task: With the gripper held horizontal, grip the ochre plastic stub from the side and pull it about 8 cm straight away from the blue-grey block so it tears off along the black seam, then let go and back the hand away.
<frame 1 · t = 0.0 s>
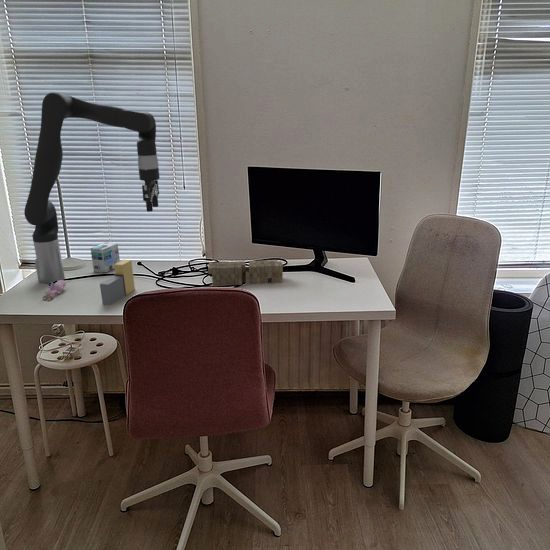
hand: (152, 209, 194), 29 cm above the table, tool pointing down, fingers open, 8 cm apart
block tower: (246, 282, 199), on the table
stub: (124, 277, 188), point 6 cm above the table, slide at 0.0 cm
rabbit figure: (56, 294, 190), on the table
blue-grey block: (126, 292, 190), on the table
light bulb box: (107, 269, 218), on the table
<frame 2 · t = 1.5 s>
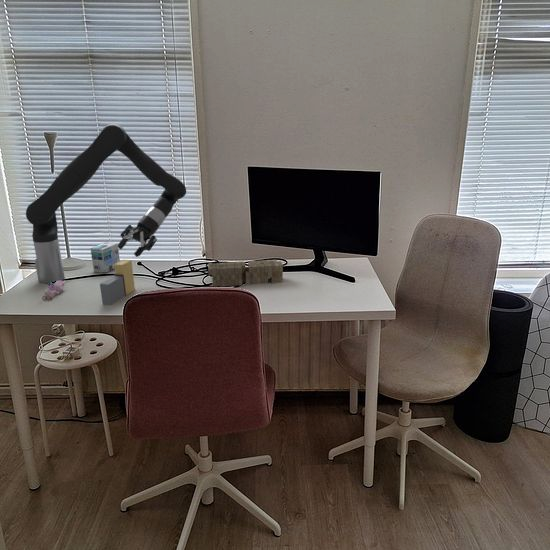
hand: (127, 251, 192), 14 cm above the table, tool tilted 55°, fingers open, 8 cm apart
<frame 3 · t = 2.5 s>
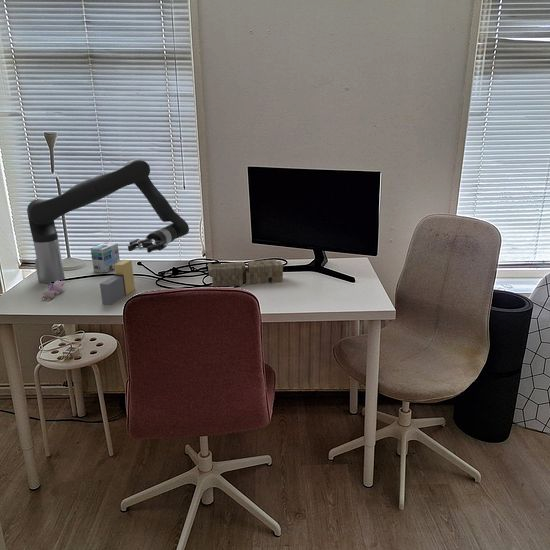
hand: (138, 249, 195), 14 cm above the table, tool horizontal, fingers open, 8 cm apart
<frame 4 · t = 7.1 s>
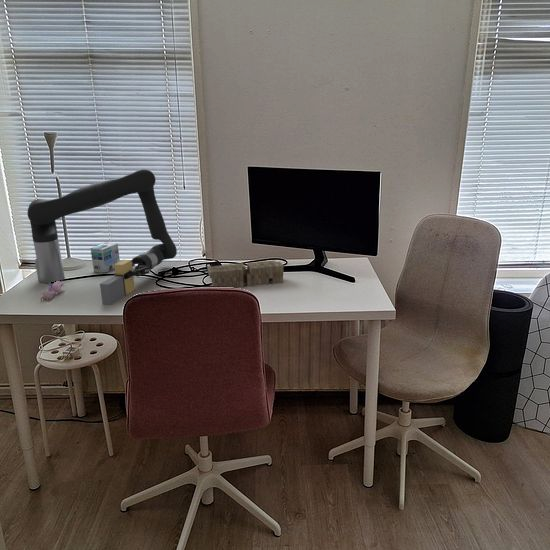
hand: (120, 276, 185), 8 cm above the table, tool horizontal, fingers closed on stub, 3 cm apart
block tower: (246, 284, 197), on the table
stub: (124, 277, 188), point 6 cm above the table, slide at 0.0 cm, touching gripper
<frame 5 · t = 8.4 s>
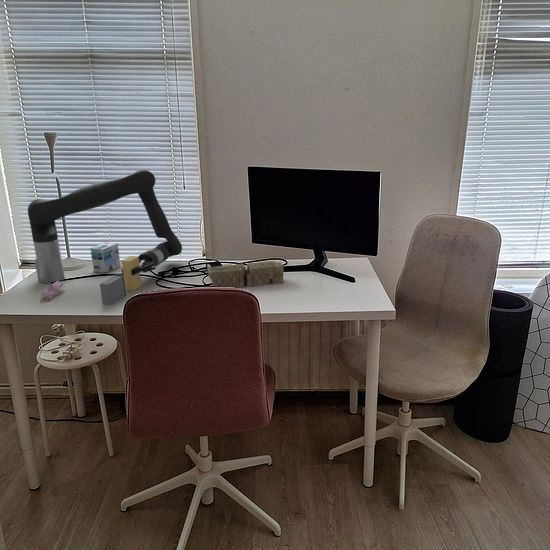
hand: (127, 272, 189), 8 cm above the table, tool horizontal, fingers closed on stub, 3 cm apart
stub: (131, 273, 192), point 6 cm above the table, slide at 4.8 cm, touching gripper
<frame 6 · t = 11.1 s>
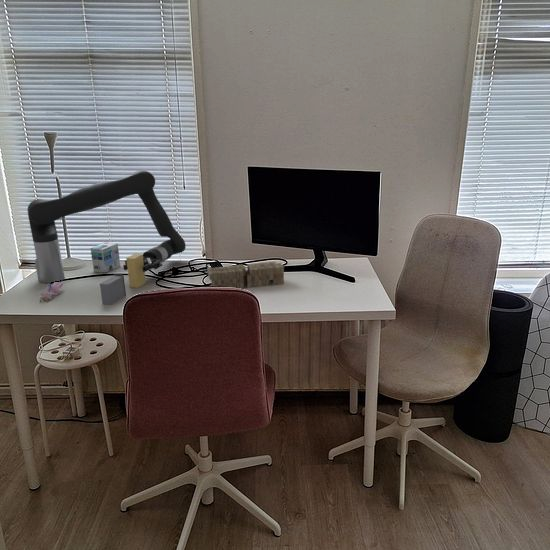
hand: (133, 268, 193), 8 cm above the table, tool horizontal, fingers open, 8 cm apart
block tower: (246, 286, 195), on the table
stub: (136, 270, 195), point 6 cm above the table, slide at 8.0 cm
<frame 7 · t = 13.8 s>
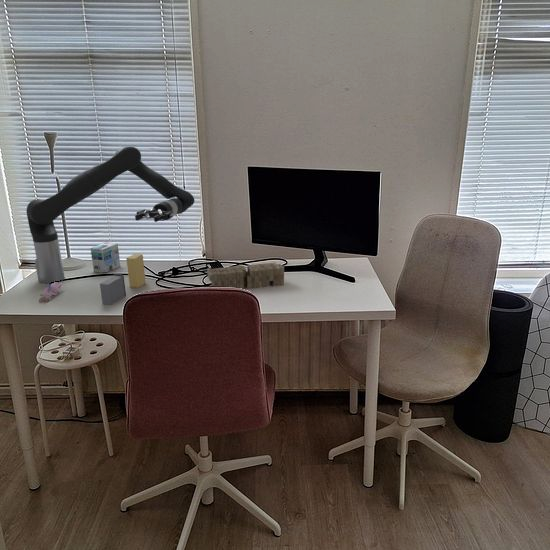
hand: (145, 218, 199), 25 cm above the table, tool horizontal, fingers open, 8 cm apart
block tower: (246, 287, 194), on the table
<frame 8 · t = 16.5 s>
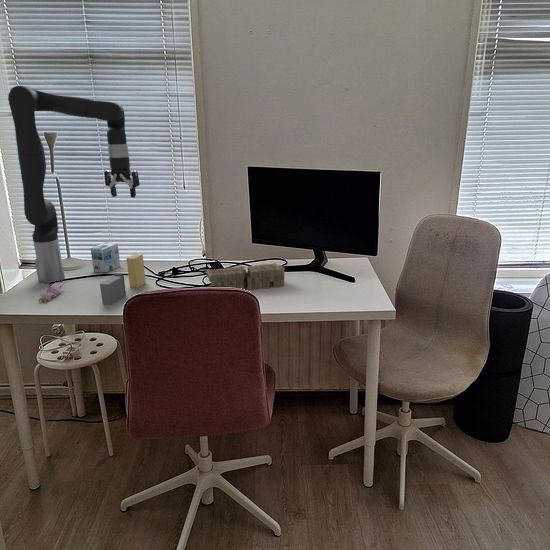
hand: (123, 197, 199), 33 cm above the table, tool pointing down, fingers open, 8 cm apart
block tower: (246, 288, 193), on the table
at the end: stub slide at 8.0 cm; the gripper is holding nothing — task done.
